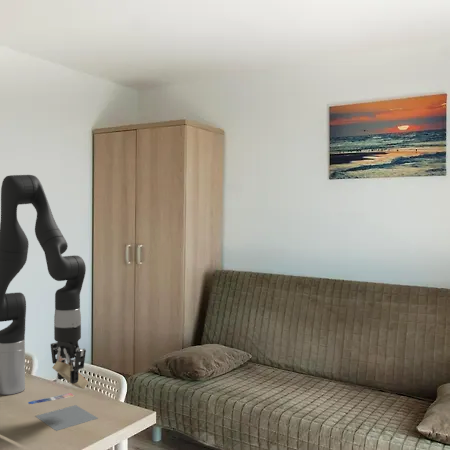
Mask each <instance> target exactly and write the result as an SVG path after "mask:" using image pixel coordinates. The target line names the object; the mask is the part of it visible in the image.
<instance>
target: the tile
mask: <svg viewBox="0 0 450 450" xmlns="http://www.w3.org/2000/svg"><path fill="white" fill-rule="evenodd" d="M52 369H53V370H55V372H56V373H57V374H58V373H59V374H60V375H61V376H62V377H64V379H65V381H67V382H68V383H69V384H71V386H74V387H77V388H79V389H81V390H82V389H83V390H84V389H85V388H86V386H87V385H88V384H89V381H88V380H87V379H86V378H85V377H84V376H82V374H81V373H79V372H78V382H77V383H74V384H72V383H70V371H71V369H70V365H69V364H68V363H67V362H66V363H63V362H60V361H57V362H56V363H54V365H53V366H52Z"/></svg>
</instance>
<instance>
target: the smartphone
mask: <svg viewBox="0 0 450 450" xmlns="http://www.w3.org/2000/svg"><path fill="white" fill-rule="evenodd" d="M75 396H76V395H75V394H74V393H71V392H68V393H64V394H58V395H55V396H49V397H45V398H40V399H37V400H31V401H28V402H27V404H28V405H33V404H40V403H45V402H51V401H56V400H62V399H67V398H73V397H75Z"/></svg>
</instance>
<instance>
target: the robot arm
mask: <svg viewBox="0 0 450 450" xmlns="http://www.w3.org/2000/svg"><path fill="white" fill-rule="evenodd" d="M0 188H1V189H0V322H10V321H11V323H10V324H9V325H7V326H6V327H5V328H3V329H0V395H6V396H9V395H14V394H15V395H16V394H19V393H21V392H23V391H25V389H26V356H25V355H26V348H25V347H26V343H25V341H26V340H25V336H26V315H27V301H26V296H25V294H23V293H22V292H9V293H7V290H8V287H9V286H10V284H11V282H12V281H13V280H14V278H16V276H17V275H18V274H19V273H20V272H21V270H22V269H23V268H24V266H25V265H26V263H27V261H28V253H29V240H28V237H27V235H26V233H25V231H24V230H23V228H22V227H21V225H20V223H19V220H18V206H19V205H32V206H33V208H34V209H35V211H36V219H35V225H34V235H35V236H36V240H37V241H38V243H39V245H40V247H41V250H43V252H44V258H45V262H46V266H47V271H48V274H49V276H50V277H51V278H52V279H53V280H55V281H57V282H65V281H66V282H65V285H63V287H60V288H58V289H57V290H56V291H55V294H54V316H53V319H54V320H53V322H54V324H53V325H54V327H53V329H54V330H53V333H54V334H53V336H54V337H53V338H54V341H55V342H53V343H50V351H51V361H52V364H54V365H55V363H56V362H57V361H60V362H63V363H67V364H69V365H70V369H71V371H70V383H72V384H74V383H77V382H78V373H79V370H80V369H84V368H85V360H86V352H87V351H86V348H80V346H79V340H81V338H82V316H81V315H82V314H81V292H82V288H83V284H84V281H85V280H84V279H85V276H86V269H87V267H86V262H85V260H84V259H83V258H82V257H81V256H80V255H65V256H63V255H64V253H65V252H66V251H67V250H68V245H69V244H68V243H67V240H66V238H65V237H64V235H63V233H62V232H61V230H60V228H59V226H58V224H57V222H56V220H55V218H54V215H53V213H52V210H51V207H50V203H49V201H48V198H47V195H46V193H45V190H44V188H43V185H42V183H41V181H40V180H39V178H38V177H37V176H36V175H33V174H13V175H6V176H5V177H4V178H3V180H2V183H1V187H0ZM57 379H58V380H64V379H65V378H64V377H62V376H61V375H60V374H59V373H58V372H57ZM70 383H69V384H70ZM72 384H71V385H72Z"/></svg>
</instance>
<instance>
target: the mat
mask: <svg viewBox="0 0 450 450" xmlns="http://www.w3.org/2000/svg"><path fill="white" fill-rule="evenodd" d="M35 417H36V418H37V419H39V420H40V421H41V422H42V423H43V424H45V425H47V426H49V427H50V428H51V429H52V430H54V431H56V432H57V431H61V430H65V429H67V428H71V427H74V426H77V425H80V424H83V423H88V422H91V421H94V420H98V419H99V417H97V416H96V415H93V414H92V413H90V412H88V411H87V410H85V409H84V408H81V407H80V406H78V405H77V404H74V405H71V406H67V407H66V406H65V407H64V408H61V409H59V408H58V409H57V410H56V409H55V410H53V411H48V412H44V413H41V414H38V415H35Z"/></svg>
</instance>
